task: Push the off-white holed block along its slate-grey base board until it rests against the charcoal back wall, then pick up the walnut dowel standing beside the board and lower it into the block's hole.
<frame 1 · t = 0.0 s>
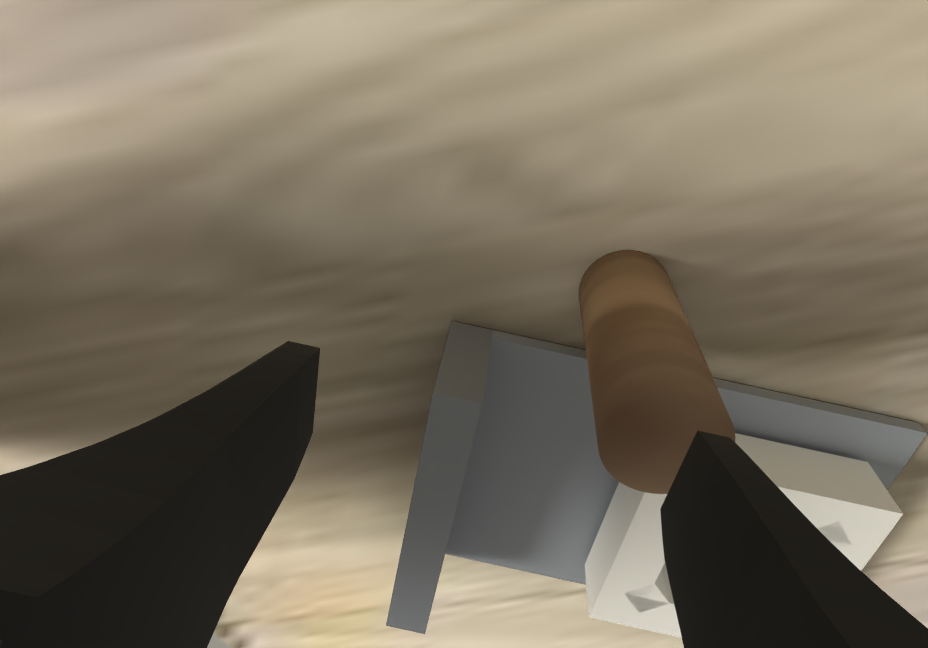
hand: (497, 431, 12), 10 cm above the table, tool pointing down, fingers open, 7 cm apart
dowel: (624, 291, 21), on the table
holed block: (723, 542, 23), point 2 cm above the table, slide at 0.0 cm
base board: (635, 484, 25), on the table
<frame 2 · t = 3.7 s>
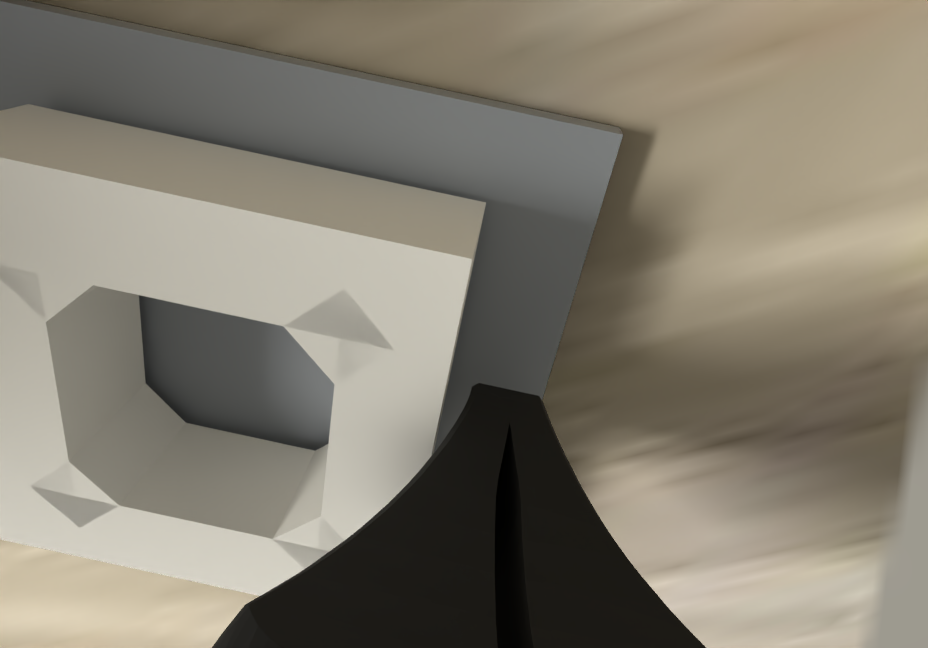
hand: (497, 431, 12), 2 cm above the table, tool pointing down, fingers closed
holed block: (225, 383, 12), point 2 cm above the table, slide at 0.5 cm, touching gripper
base board: (152, 302, 13), on the table
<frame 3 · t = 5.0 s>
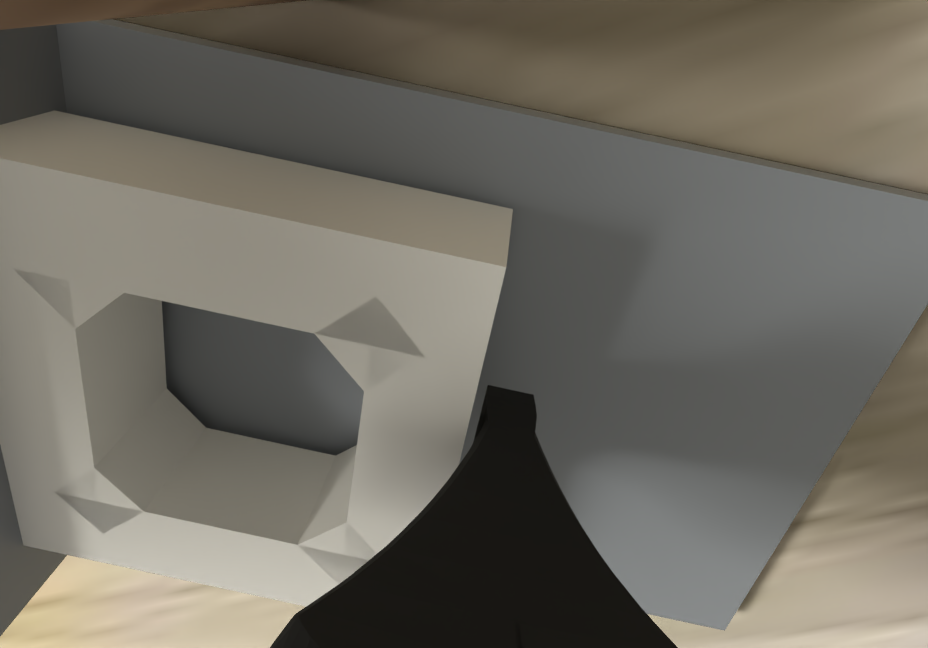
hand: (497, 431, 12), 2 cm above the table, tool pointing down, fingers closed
holed block: (250, 389, 12), point 2 cm above the table, slide at 6.0 cm, touching base board, gripper
base board: (427, 362, 13), on the table
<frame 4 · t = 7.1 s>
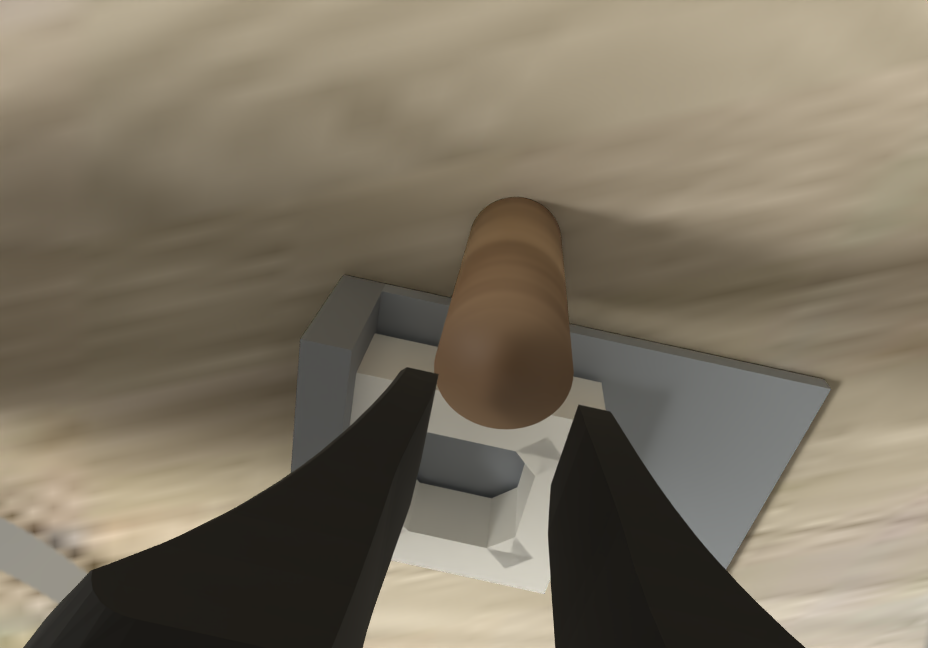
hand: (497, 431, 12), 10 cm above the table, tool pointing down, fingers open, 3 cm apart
dowel: (515, 242, 21), on the table
holed block: (462, 468, 23), point 2 cm above the table, slide at 6.0 cm, touching base board
base board: (544, 447, 24), on the table
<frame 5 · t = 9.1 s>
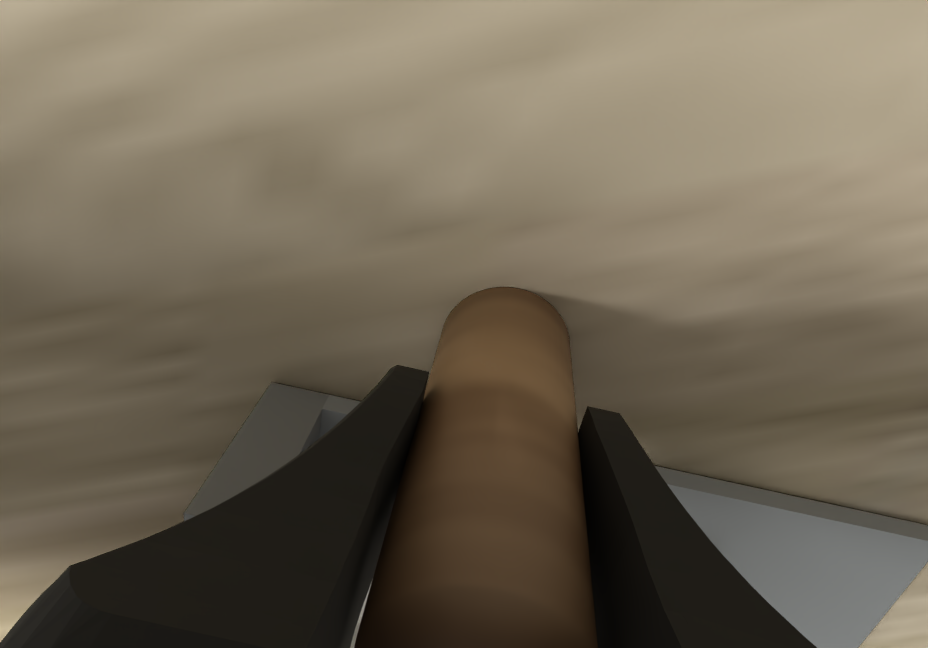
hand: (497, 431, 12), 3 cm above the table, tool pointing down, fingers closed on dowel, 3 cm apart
dowel: (504, 345, 15), on the table, touching gripper
holed block: (436, 638, 17), point 2 cm above the table, slide at 6.0 cm, touching base board
base board: (545, 594, 19), on the table
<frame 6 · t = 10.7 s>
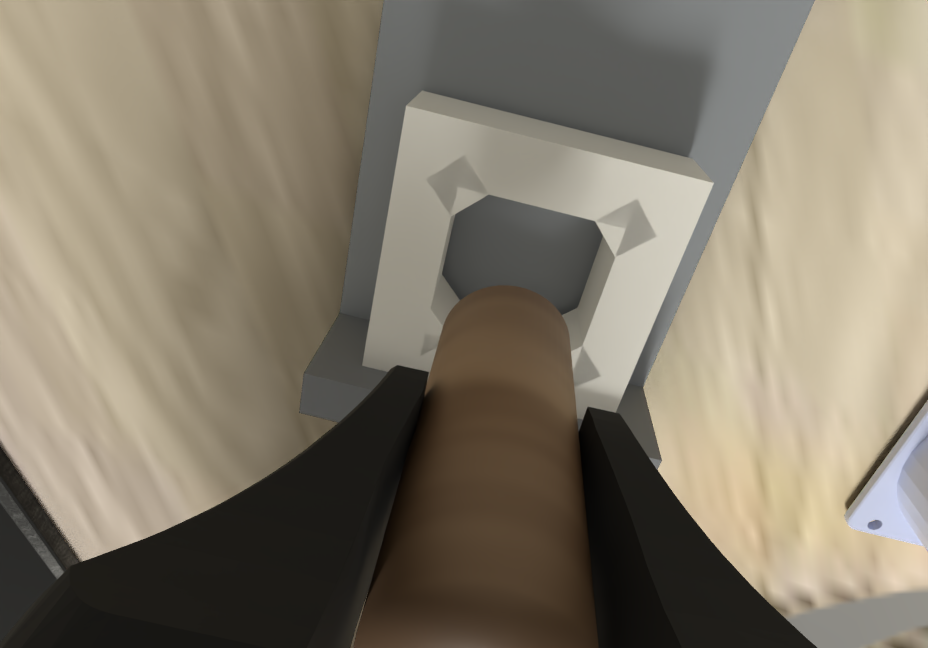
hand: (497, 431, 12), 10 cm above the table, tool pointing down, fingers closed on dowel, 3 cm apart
dowel: (504, 344, 15), point 7 cm above the table, touching gripper
holed block: (520, 266, 19), point 2 cm above the table, slide at 6.0 cm, touching base board
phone: (2, 534, 32), on the table
base board: (547, 151, 19), on the table
when the fingers open (4 cm above the table, at t = 12.4 s): dowel stays where it is, resting on base board.
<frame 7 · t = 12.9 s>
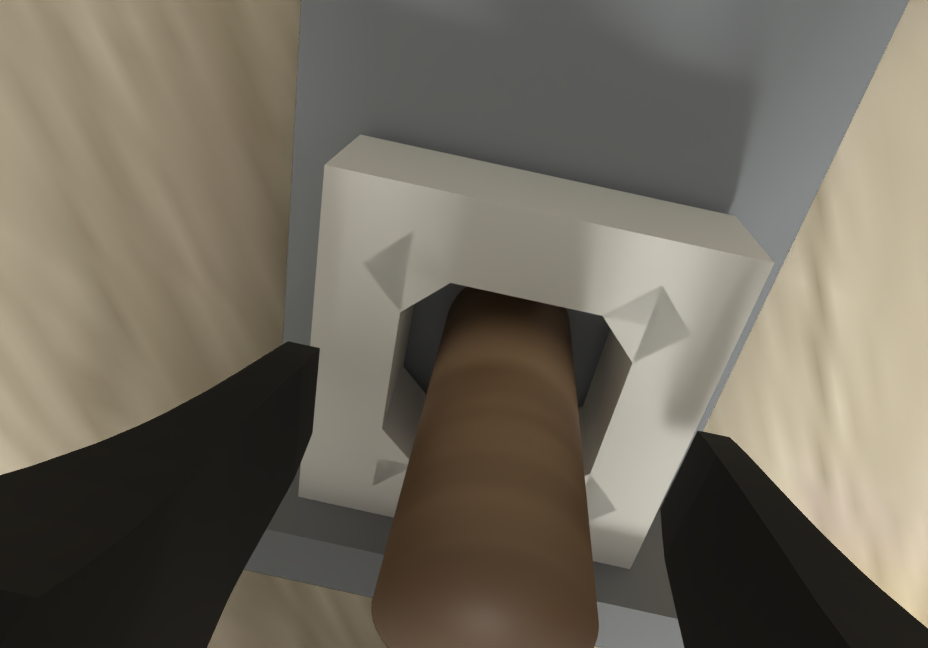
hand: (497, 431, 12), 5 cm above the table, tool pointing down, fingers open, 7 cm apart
dowel: (507, 329, 15), point 1 cm above the table, touching base board
holed block: (503, 365, 14), point 2 cm above the table, slide at 6.0 cm, touching base board
base board: (536, 207, 14), on the table
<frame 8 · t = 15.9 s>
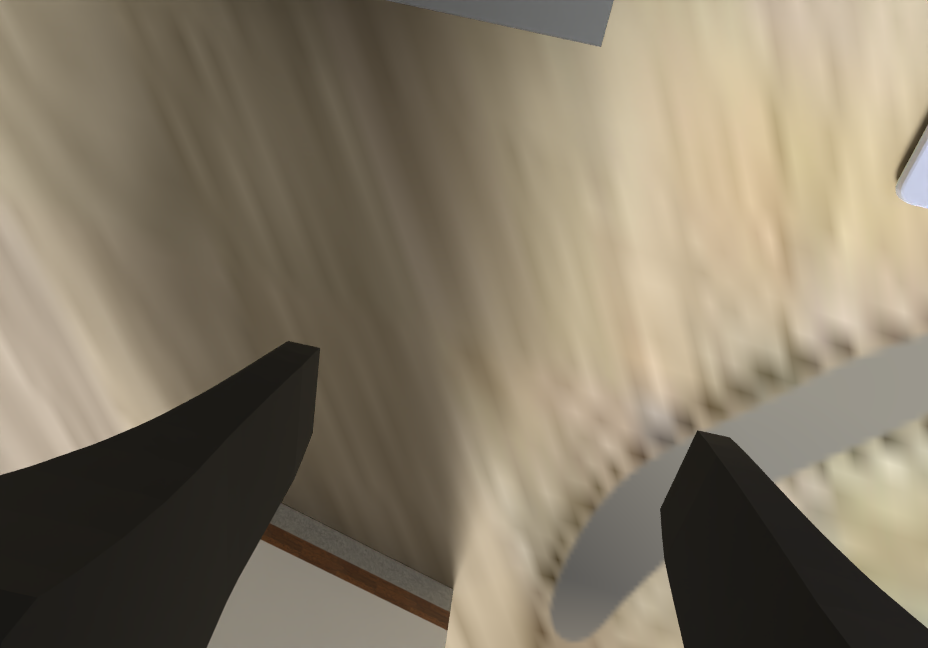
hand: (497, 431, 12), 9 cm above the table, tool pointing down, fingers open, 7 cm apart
white tower: (297, 601, 30), on the table
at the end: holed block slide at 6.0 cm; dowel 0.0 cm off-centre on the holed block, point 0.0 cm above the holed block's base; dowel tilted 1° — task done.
